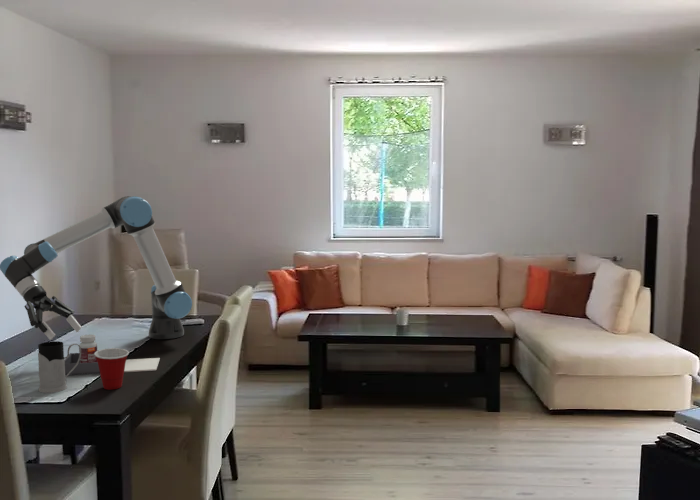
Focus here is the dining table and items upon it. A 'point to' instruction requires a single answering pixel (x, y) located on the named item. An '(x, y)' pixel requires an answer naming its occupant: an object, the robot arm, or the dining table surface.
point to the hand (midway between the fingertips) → (66, 333)
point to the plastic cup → (111, 366)
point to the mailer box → (93, 367)
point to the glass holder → (53, 366)
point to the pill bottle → (88, 349)
